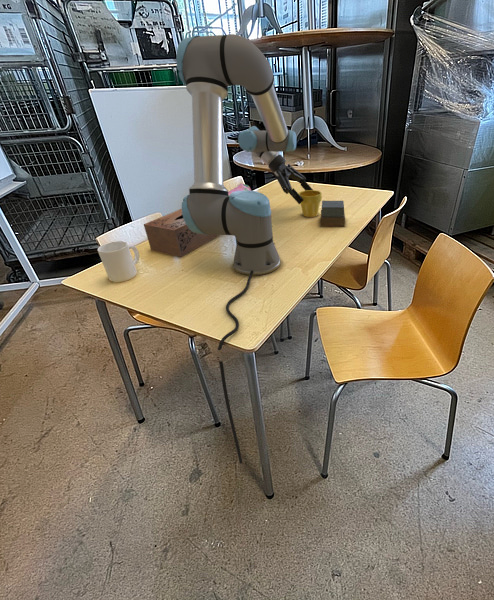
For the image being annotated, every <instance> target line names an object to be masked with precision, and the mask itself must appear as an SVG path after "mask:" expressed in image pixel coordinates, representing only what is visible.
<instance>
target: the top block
mask: <svg viewBox="0 0 494 600" xmlns="http://www.w3.org/2000/svg"><path fill="white" fill-rule="evenodd" d="M321 210H322V217H344V213H345V202H344V200H321Z"/></svg>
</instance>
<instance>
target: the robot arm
mask: <svg viewBox="0 0 494 600" xmlns="http://www.w3.org/2000/svg"><path fill="white" fill-rule="evenodd" d="M175 58H176V60H175V61H176V69H177V71H178V77H179V79H180V81H181V83H182V84H183V85H184V86H185V88H186V91H187V92H188V94H189V95H190V96H191V105H192V106H191V110H192V139H193V140H192V147H193V184H192V185H191V186H189V188H188V191H189V194H187V195H185V196H184V197H183V199H182V202H181V209H182V215H183V219H184V221H185V223H186V225H187V226H188V228H189V229H190V230H191V231H192V232H194V233H199V234H204V235H209V234H212V235H220V236H233V237H235V243H236V247H235V252H234V255H233V268H234V270H235V271H236V272H237V273H239V274H241V275H245V276H248V278H247V281H246V284H245V287H244V288H243V290H242V291H240V292H239V293H238V294H236V295H234V296H233V297H232V298H231V299H229V300H228V302H227V303H226V305H225V311H226V313H227V314H228V316H229V317H230V318H231V319H232V320H233V321H234V323H235V326H234V329H232V330H230V331H229V332H228V333H226V334H224V336H223V337H222V338H221V339H220V341H219V343H218V346H217V351H221V350H222V348H223V345H224V343H225V341H226V340H227V339H228V338H229V337H231V336H232V335H234V334H235V333H237V332H238V330H239V328H240V321H239V319H238V318H237V317H236V316H235V315H234V313H232V311H231V310H230V305H231V304H232V303H233V302H234V301H235V300H237V299H239V298H240V297H241V296H243V295H244V294H245V293H246V292H247V290H249V286H250V282H251V281H252V280H251V279H252V276H263V275H267V274H271V273H272V272H275V271H276V270H278V269H279V268H280V266H281V258H280V254H279V252H278V250H277V247H276V245H275V242H274V236H273V223H272V208H271V205H270V199H269V197H268V196H266V195H265V194H264V193H262V192H259V191H255V190H251V191H249V190H243V191H234V192H232V193H231V194H230V196H228V192H229V190H228V188H226V187H225V185H224V113H223V112H224V111H223V110H224V109H223V108H224V105H223V104H224V103H223V101H224V100H225V99H227V97H228V95H229V87H230V86H231V87H232V86H240V87H241V86H242V87H243V88H244V90H245V91H246V93H247V94H249V95H250V96H251V98H252V101H253V104H254V105H255V107H256V109H257V112H258V114H259V117H260V119H261V121H262V123H263V126H264V128H265V130H260V129H259V128H258V127H257V126H256V125H252V126H250V127H248V128H247V129H245V130H242V131H241V132H240V133H239V134H238V137H237V142H238V145H239V147H240V149H242V150H243V151H245V152H247V153H249V152H254V153H255V154H256V155H257V156H258V157H259V159H261V161H262V163H264V164H265V165H266V166H268V167H267V168H268V169H269V170H270V171H271V172H272V173H273V175H274V177H275V178H276V180H277V182H278V184H279V186H280V187H281V190H282V191H283V192H284V193H285V194H286V195H288V194H289V195H290V196H291V197H292V198H293V200H294V201H295V202H296V203H297V204H298V205H301V204H300V203H301V202H302V201H303V198H302V197H301V196H300V195H299V194H298V193H299V192H298V191H297V190H296V189H295V188H294V187H292V184H291V182H290V179H291V180H294V181H295V182H297V183H299V184H300V186H301V188H302V189H303V191H306V190H314V189H313V188H312V186H310V184H309V183H308V182H307V181H306V179H307V178H306V176H305V175H303V174H302V173H300V171H298V170H297V169H295V167H293V166H292V165H291V163H288V164H287V165H286V161H287V160H286V158H284V156H283V155H282V154H280V152H281V153H288V152H295V150H296V149H297V134H296V131H295V130H290V129H288V126H287V123H286V119H285V118H284V114H283V111H282V108H281V105H280V101H279V99H278V96H277V92H276V89H275V86H274V84H275V75H274V71H273V68H272V66H271V64H270V62H269V60H268V59H267V58H266V56H265V55H264V53H263V51H261V50H260V49H259V47H258V46H256V44H254V43H253V42H252V41H251V40H249V39H247V38H246V37H244V36H242V35H240V34H233V33H231V34H230V33H229V34H218V35H216V34H215V35H202V36H201V35H193V36H189V37H185V38H183V39H182V40H181V41H180V42H179V44H178V46H177V49H176V57H175ZM218 364H219V369H220V378H221V383H222V389H223V395H224V400H225V406H226V410H227V414H228V419H229V424H230V427H231V431H232V435H233V439H234V444H235V449H236V452H237V456H238V461H239V464H243V458H242V454H241V448H240V444H239V440H238V436H237V431H236V427H235V422H234V419H233V414H232V410H231V409H232V408H231V404H230V399H229V394H228V388H227V382H226V376H225V375H226V374H225V368H224V367H225V366H224V362H223V360H222V361H221V360H219V361H218Z"/></svg>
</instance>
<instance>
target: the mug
mask: <svg viewBox="0 0 494 600" xmlns="http://www.w3.org/2000/svg"><path fill="white" fill-rule="evenodd" d="M131 250H132V252H133V253H134V259H133V255H132V253H131ZM97 252H98V255H99V257H100V258H99V259H100V260H101V263H102V265H103V268H104V270H105V273H106V276H107V278H108V279H109V280H110V281H111V282H113V283H123V282H127V281H129V280H132V279H134V278H135V277H136V276H137V273H138V271H137V268H136V265H137V264H138V262H139V260H140V251H139V249H138V248H137V247H136V245H134V244H131V243H128V242H127V241H123V240H117V241H116V240H115V241H110V242H106V243H103V244H101V245H99V247H97Z"/></svg>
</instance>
